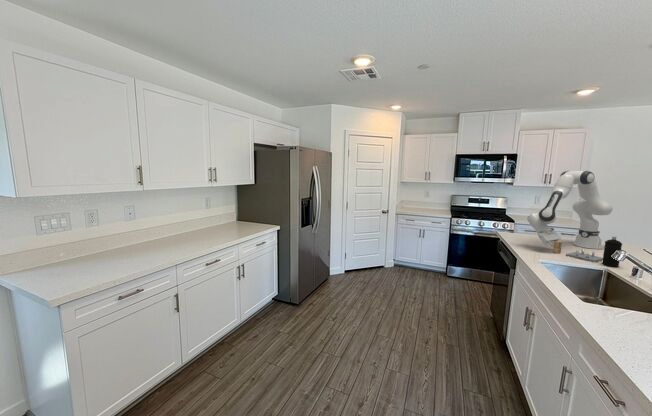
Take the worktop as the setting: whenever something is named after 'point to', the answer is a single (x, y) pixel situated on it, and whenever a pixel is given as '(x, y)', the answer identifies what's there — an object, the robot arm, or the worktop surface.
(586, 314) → the worktop surface
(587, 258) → the peg base
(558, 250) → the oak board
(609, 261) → the aerosol can
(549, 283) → the worktop surface
